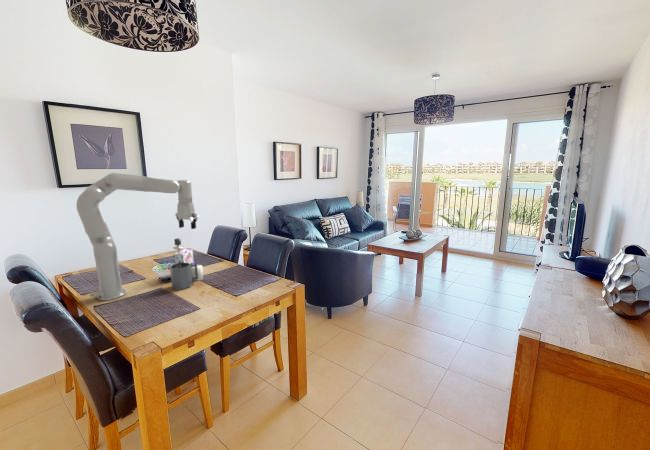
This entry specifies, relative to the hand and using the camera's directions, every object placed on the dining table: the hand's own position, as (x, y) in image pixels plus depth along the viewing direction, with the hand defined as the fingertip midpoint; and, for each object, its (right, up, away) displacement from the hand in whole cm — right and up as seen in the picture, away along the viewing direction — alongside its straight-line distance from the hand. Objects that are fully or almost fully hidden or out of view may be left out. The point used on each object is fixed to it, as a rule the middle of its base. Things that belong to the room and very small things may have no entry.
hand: (187, 228), depth 177 cm
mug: (+4, -32, +5) cm, 33 cm away
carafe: (+2, -34, -6) cm, 35 cm away
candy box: (-6, -31, +10) cm, 34 cm away
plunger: (+1, -26, -9) cm, 27 cm away
